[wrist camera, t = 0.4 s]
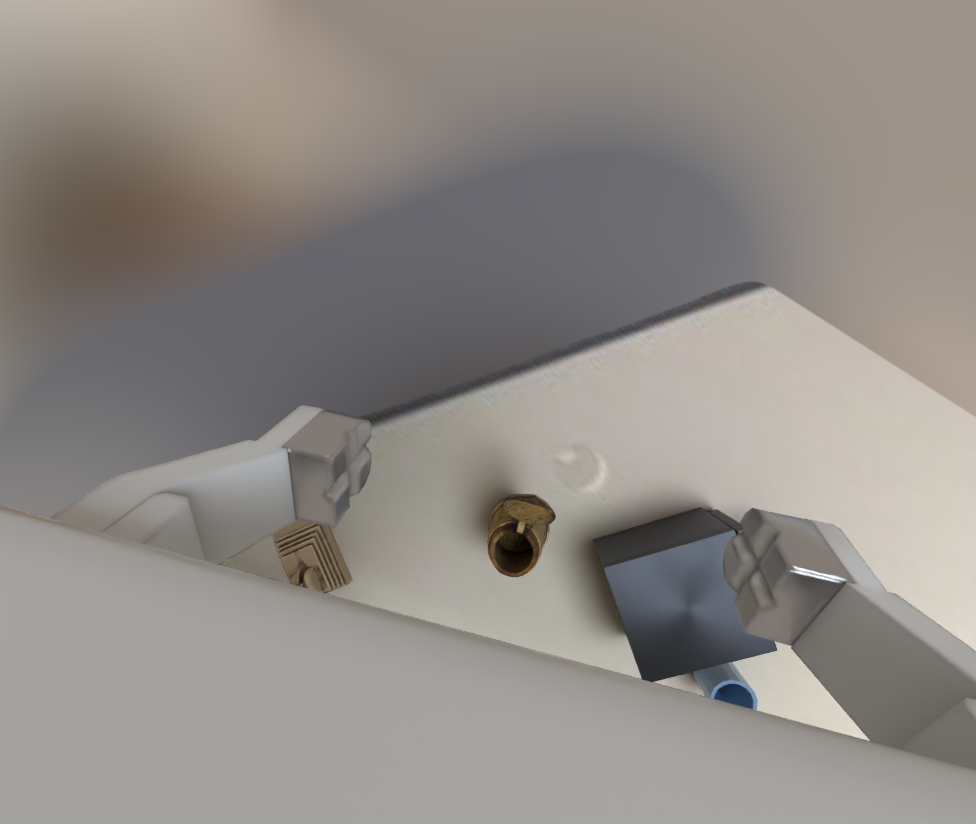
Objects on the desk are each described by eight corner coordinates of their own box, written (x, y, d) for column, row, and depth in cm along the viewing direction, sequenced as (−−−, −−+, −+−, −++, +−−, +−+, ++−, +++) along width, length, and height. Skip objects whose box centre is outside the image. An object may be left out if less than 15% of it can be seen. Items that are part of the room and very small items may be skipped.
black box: (700, 507, 60) (734, 529, 49) (736, 606, 59) (777, 650, 49) (592, 539, 62) (603, 567, 51) (626, 635, 61) (644, 684, 51)
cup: (739, 684, 60) (763, 718, 53) (699, 693, 60) (718, 728, 54) (726, 645, 60) (748, 675, 53) (686, 656, 60) (703, 686, 54)
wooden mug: (567, 479, 62) (577, 510, 44) (538, 565, 63) (536, 630, 45) (509, 459, 63) (496, 481, 45) (481, 544, 64) (457, 600, 46)
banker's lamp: (286, 607, 68) (20, 822, 33) (235, 487, 69) (-79, 575, 34) (372, 571, 66) (186, 759, 31) (319, 448, 67) (77, 498, 32)
